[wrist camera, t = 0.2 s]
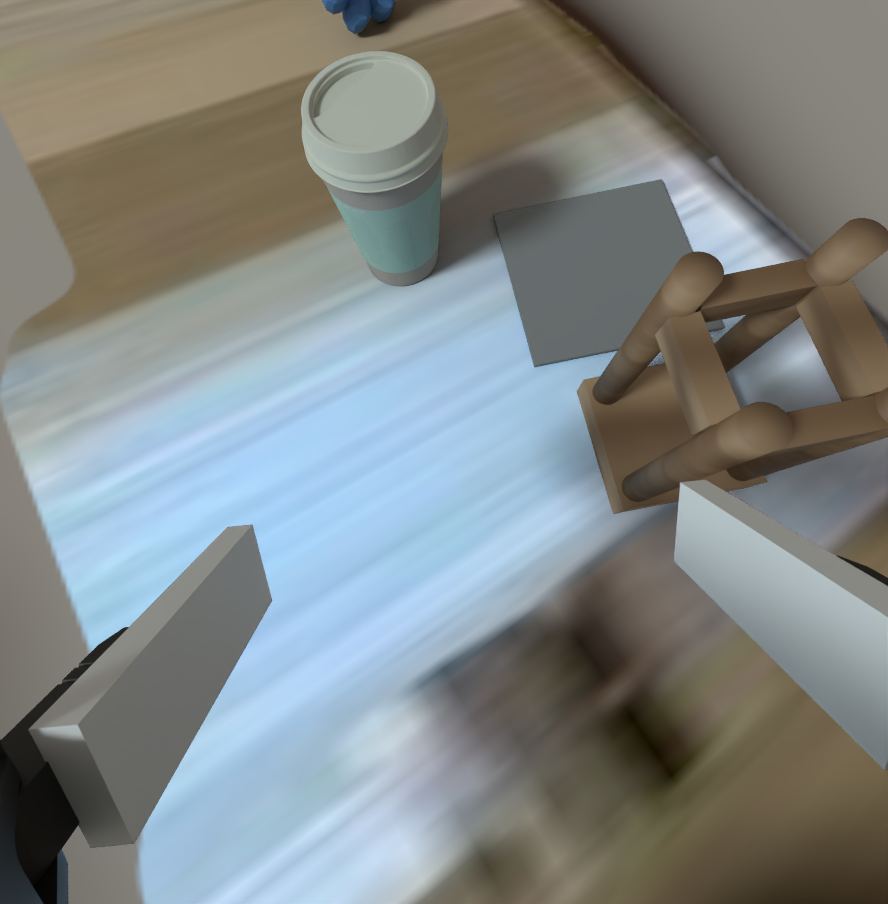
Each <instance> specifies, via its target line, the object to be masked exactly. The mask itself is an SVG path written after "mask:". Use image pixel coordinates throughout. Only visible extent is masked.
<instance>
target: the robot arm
mask: <svg viewBox="0 0 888 904" xmlns="http://www.w3.org/2000/svg"><path fill="white" fill-rule="evenodd" d="M674 561H675V562H676V563H677V564H678V565H679V566H680V567H681V568H682V569H683V570H684V571H685V572H686V573H687V574H688V575H689V576H690V577H691V578H692V579H693V580H694V581H695V582H696V583H697V584H698V585H699V586H700V587H701V588H702V589H703V590H704V591H705V592H706V593H707V594H708V595H709V596H710V597H711V598H712V599H713V600H714V601H715V602H716V603H717V604H718V605H719V606H720V607H721V608H722V609H723V610H724V611H725V612H726V613H727V614H728V615H729V616H730V617H731V618H732V619H733V620H734V621H735V622H736V623H737V624H738V625H739V626H740V627H741V628H742V629H743V630H744V631H745V632H746V633H747V634H748V635H749V636H750V637H751V638H752V639H753V640H754V641H755V642H756V643H757V644H758V645H759V646H760V647H761V648H762V649H763V650H764V651H765V652H766V653H767V654H768V655H769V656H770V657H771V658H772V659H773V660H774V661H775V662H776V663H777V664H778V665H779V666H780V667H781V668H782V669H783V670H784V671H785V672H786V673H787V674H788V675H789V676H790V677H791V678H792V679H793V680H794V681H795V682H796V683H797V684H798V685H799V686H800V687H801V688H802V689H803V690H804V691H805V692H806V693H807V694H808V695H809V696H811V697H812V698H813V699H814V700H815V701H816V702H817V703H818V704H819V705H820V706H821V707H822V708H823V709H824V710H825V711H826V712H827V713H828V714H829V715H830V716H831V717H832V718H833V719H834V720H835V721H836V722H837V723H838V724H839V725H840V726H841V727H842V728H843V729H844V730H845V731H846V732H847V733H848V734H849V735H850V736H851V737H852V738H853V739H854V740H855V741H856V742H857V743H858V744H859V745H860V746H861V747H862V748H863V749H864V750H865V751H866V752H867V753H868V754H869V755H870V756H871V757H872V758H873V759H874V760H875V761H876V762H877V763H878V764H879V765H880V766H881V767H882V768H883V769H884V770H888V578H887V577H885V576H883V575H881V574H880V573H878V572H876V571H874V570H873V569H871V568H869V567H867V566H864V565H861V564H859V563H856V562H853V561H851V560H848V559H845V558H843V557H840V556H835V555H834V554H832V553H830V552H828V551H827V550H825V549H823V548H822V547H820V546H818V545H816V544H815V543H813V542H811V541H810V540H808V539H806V538H804V537H803V536H801V535H799V534H797V533H796V532H794V531H792V530H791V529H789V528H787V527H785V526H784V525H782V524H780V523H779V522H777V521H775V520H773V519H772V518H770V517H768V516H767V515H765V514H763V513H761V512H760V511H758V510H756V509H755V508H753V507H751V506H749V505H748V504H746V503H744V502H743V501H741V500H739V499H737V498H736V497H734V496H732V495H731V494H729V493H727V492H725V491H724V490H722V489H720V488H719V487H717V486H715V485H713V484H712V483H710V482H708V481H707V480H698V481H688V482H680V492H679V504H678V517H677V529H676V541H675V553H674ZM271 602H272V598H271V594H270V590H269V587H268V583H267V579H266V575H265V571H264V567H263V563H262V560H261V556H260V552H259V548H258V544H257V540H256V536H255V532H254V529H253V525H244V526H234V527H227V528H226V529H225V530H224V531H223V532H222V533H221V534H220V535H219V536H218V537H217V538H216V539H215V540H214V541H213V542H212V543H211V544H210V545H209V546H208V547H207V548H206V549H205V550H204V552H203V553H202V554H201V555H200V556H199V557H198V558H197V559H196V560H195V561H194V562H193V563H192V564H191V565H190V566H189V567H188V568H187V569H186V570H185V571H184V572H183V573H182V574H181V575H180V576H179V577H178V578H177V579H176V580H175V581H174V582H173V583H172V584H171V585H170V586H169V587H168V588H167V589H166V590H165V591H164V592H163V593H162V594H161V595H160V596H159V597H158V598H157V599H156V600H155V601H154V602H153V603H152V604H151V605H150V606H149V607H148V608H147V609H146V610H145V611H144V612H143V613H142V614H141V616H140V617H139V618H138V619H137V620H136V621H135V622H134V623H133V624H132V625H131V626H130V627H125V628H123V629H121V630H120V631H118V632H117V633H115V634H114V635H112V636H111V637H109V638H108V639H106V640H105V641H103V642H102V643H101V644H99V645H98V646H97V647H96V648H95V649H94V650H93V651H92V652H91V653H90V654H89V655H88V656H87V657H86V658H85V659H84V660H83V661H82V662H81V663H79V667H78V668H74V669H73V670H72V671H71V672H70V673H69V674H68V675H67V676H66V677H65V678H64V679H63V680H62V684H59V685H57V686H56V687H55V688H54V689H53V690H52V691H51V692H50V693H49V694H48V695H47V696H46V697H45V698H44V699H43V700H42V701H41V702H40V703H39V704H37V705H36V707H35V708H33V710H31V711H30V712H29V713H28V714H27V715H26V716H25V717H24V718H23V719H22V720H21V721H20V722H19V723H18V724H17V725H16V726H15V727H14V728H13V729H12V730H11V731H10V732H9V733H8V734H7V735H6V736H5V737H4V738H3V739H2V740H0V904H68V863H67V860H66V858H65V855H64V853H63V851H62V847H63V846H64V845H65V843H66V842H67V840H68V839H69V837H70V836H71V835H72V833H73V832H74V830H75V829H76V827H77V826H78V825H79V827H80V829H81V831H82V833H83V835H84V836H85V838H86V840H87V842H88V844H89V846H90V848H96V847H105V846H115V845H126V844H134V843H135V841H136V840H137V838H138V836H139V834H140V833H141V831H142V829H143V827H144V826H145V824H146V822H147V820H148V819H149V817H150V815H151V813H152V812H153V810H154V808H155V806H156V804H157V803H158V801H159V799H160V797H161V796H162V794H163V792H164V790H165V789H166V787H167V785H168V783H169V782H170V780H171V778H172V776H173V775H174V773H175V771H176V769H177V767H178V766H179V764H180V762H181V760H182V759H183V757H184V755H185V753H186V752H187V750H188V748H189V746H190V745H191V743H192V741H193V739H194V737H195V736H196V734H197V732H198V730H199V729H200V727H201V725H202V723H203V722H204V720H205V718H206V716H207V715H208V713H209V711H210V709H211V708H212V706H213V704H214V702H215V700H216V699H217V697H218V695H219V693H220V692H221V690H222V688H223V686H224V685H225V683H226V681H227V679H228V678H229V676H230V674H231V672H232V671H233V669H234V667H235V665H236V663H237V662H238V660H239V658H240V656H241V655H242V653H243V651H244V649H245V648H246V646H247V644H248V642H249V641H250V639H251V637H252V635H253V633H254V632H255V630H256V628H257V626H258V625H259V623H260V621H261V619H262V618H263V616H264V614H265V612H266V611H267V609H268V607H269V605H270V604H271Z"/></svg>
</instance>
